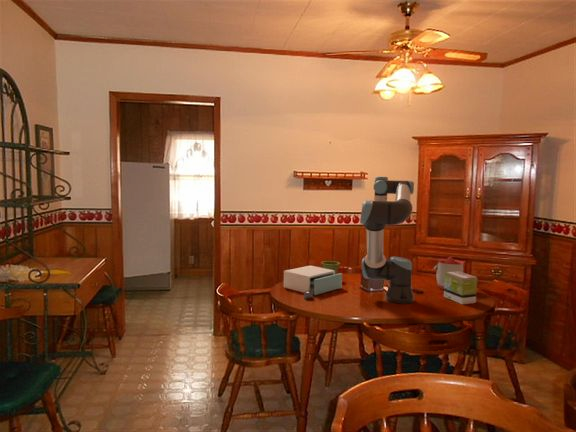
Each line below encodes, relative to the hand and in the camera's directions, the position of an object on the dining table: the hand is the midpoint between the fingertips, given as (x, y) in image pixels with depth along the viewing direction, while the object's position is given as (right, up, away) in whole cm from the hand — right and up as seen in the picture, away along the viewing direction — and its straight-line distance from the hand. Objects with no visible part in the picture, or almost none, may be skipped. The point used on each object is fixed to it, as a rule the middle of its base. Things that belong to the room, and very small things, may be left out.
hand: (378, 242), depth 268 cm
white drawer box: (-42, -27, +3) cm, 50 cm away
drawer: (-39, -27, +1) cm, 48 cm away
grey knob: (-43, -30, -22) cm, 57 cm away
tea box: (+41, -32, -19) cm, 55 cm away
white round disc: (-39, -25, +1) cm, 47 cm away
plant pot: (-27, -26, +22) cm, 44 cm away
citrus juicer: (+43, -29, +7) cm, 52 cm away
